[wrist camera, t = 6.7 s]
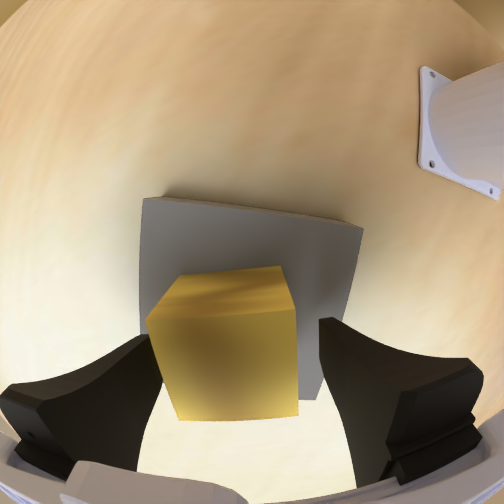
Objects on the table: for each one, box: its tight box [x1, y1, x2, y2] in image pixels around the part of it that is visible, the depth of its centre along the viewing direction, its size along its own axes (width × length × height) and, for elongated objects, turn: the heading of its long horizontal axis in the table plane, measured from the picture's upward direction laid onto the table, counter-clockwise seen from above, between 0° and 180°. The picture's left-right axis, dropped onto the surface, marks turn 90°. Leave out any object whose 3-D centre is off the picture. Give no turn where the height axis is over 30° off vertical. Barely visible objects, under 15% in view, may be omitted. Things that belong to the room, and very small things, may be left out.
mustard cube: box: [145, 266, 298, 421], centre depth 11 cm, size 5×5×5 cm
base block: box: [139, 197, 363, 400], centre depth 16 cm, size 11×11×4 cm
